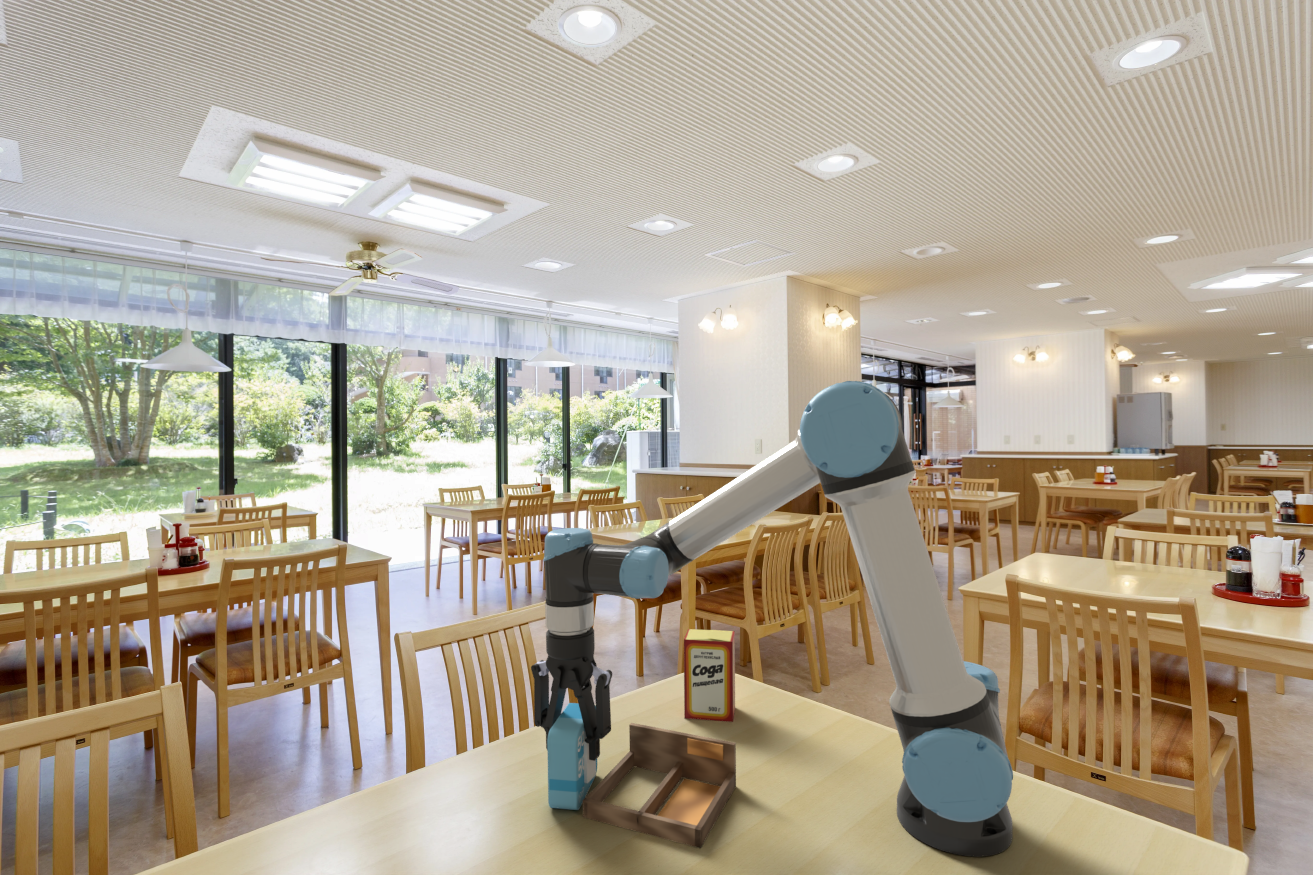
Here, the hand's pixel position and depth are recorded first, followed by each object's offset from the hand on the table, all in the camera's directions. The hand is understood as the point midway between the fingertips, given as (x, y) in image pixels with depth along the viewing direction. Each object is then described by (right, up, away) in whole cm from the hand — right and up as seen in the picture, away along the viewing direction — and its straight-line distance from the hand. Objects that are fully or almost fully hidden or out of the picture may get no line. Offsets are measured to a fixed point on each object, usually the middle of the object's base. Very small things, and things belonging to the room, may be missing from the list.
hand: (573, 774), depth 104 cm
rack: (+14, -3, -3) cm, 15 cm away
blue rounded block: (0, -3, 0) cm, 3 cm away
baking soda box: (+24, -2, +28) cm, 37 cm away
